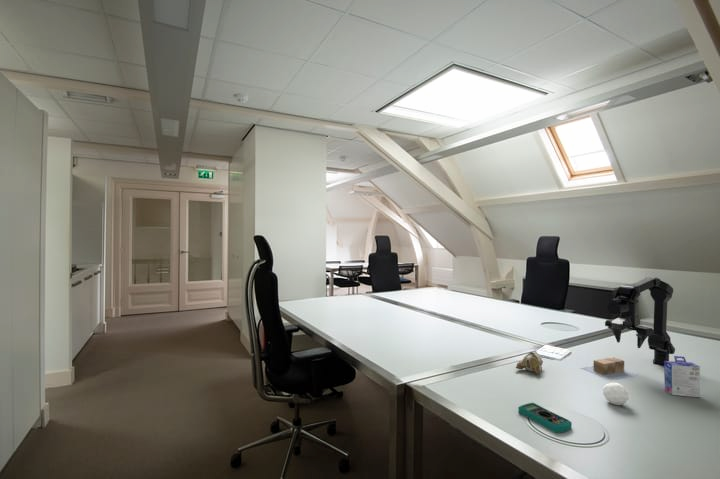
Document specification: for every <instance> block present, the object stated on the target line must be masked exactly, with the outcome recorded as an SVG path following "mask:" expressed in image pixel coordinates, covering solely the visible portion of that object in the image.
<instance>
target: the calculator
mask: <svg viewBox="0 0 720 479" xmlns="http://www.w3.org/2000/svg"><path fill="white" fill-rule="evenodd" d="M535 351H536V352H537V353H538V354H539V355H540V357H541V358H545V359H550V360H557V361H562V360H563V359H565V358H566V357H568V356H570V355H571V353H572V350H571V349H567V348H563V347H557V346H553V345H552V346H551V345H548V344H545V345H543V346H542V347H540V348H539V349H537V350H535Z"/></svg>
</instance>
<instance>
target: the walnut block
mask: <svg viewBox="0 0 720 479" xmlns="http://www.w3.org/2000/svg"><path fill="white" fill-rule="evenodd" d="M593 366H594V370H593V371H595V372H598V373H600V374H603V375H607V374H613V373H619V372H624V370H625V360H622V359H620V358H616V357H608V358H607V357H606V358H601V359H600V358H599V359H593Z"/></svg>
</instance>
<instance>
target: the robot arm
mask: <svg viewBox="0 0 720 479" xmlns="http://www.w3.org/2000/svg"><path fill="white" fill-rule="evenodd" d="M647 290H648V291H649V292H650V294H649V295H650V297H651V298H652V300H653V301H654V304H653V305H654V307H653V325H652V326H653V328H652V327H648V326H644V325H643V326H639V323H637V318H638V317H639V314H637V303H639V299H637V298H639V297H640V296H641V293H642V292H645V291H647ZM673 294H674V288H673V287H672V286H671V285H670V284H669V283H667V282H665V281H663V280H661V279H660V278H658V277H653V276H646V277H645V278H643V279H641V280H639V281H636V282H634V283H632V284H627V283H626V284H620V285H619V286H618V288H617V289H616V292H615V294H614V296H613V299H611V302H609V303H608V305H607V310H608V312H609V313H610V314H612V315H618V316H617V318H615V319H613V318H612V319H606V321H605V322H604V326H605V327H607V329H609V330H610V331H611V332H612V333H613V335H614V337H615V339H616V343H620V342H621V335H622V331H624V330H625V329H626V330H631V331H635V336H636V338H637V340H636V341H637V342H636V344H637V345H636V346H637V349H641V348H642V345H643V344H644V343H645V341H646V339H647V345H648V350H654V352H653V353H654V354H653V359H652V363H653V365H654V364H655V365H660V366H661V365H662V366H664V361H670V355H674V354H675V352H676V348H675V346H674V345H673V344H672V342H671V336H670V335H669V334H668V332H667V323H668V322H667V320H668V318H667V317H668V302H669V301H670V300H671V299H672V297H673Z"/></svg>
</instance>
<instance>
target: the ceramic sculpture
mask: <svg viewBox="0 0 720 479" xmlns="http://www.w3.org/2000/svg"><path fill="white" fill-rule="evenodd" d="M536 351H537V350H535V351H533V352H531V351H530V352H528V353H527V354H526V355H525V356H524V357H523V359H522V360H521V361H518V362H517V364H516V366H515V368H516V369H517V370H523V369H525V370H527V371H529V372H534V373H535V374H541V373H542V371H543V367H542V365H543V363H544V360H543V359H542V357H540V355H539V354H538V353H537V352H536Z"/></svg>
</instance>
